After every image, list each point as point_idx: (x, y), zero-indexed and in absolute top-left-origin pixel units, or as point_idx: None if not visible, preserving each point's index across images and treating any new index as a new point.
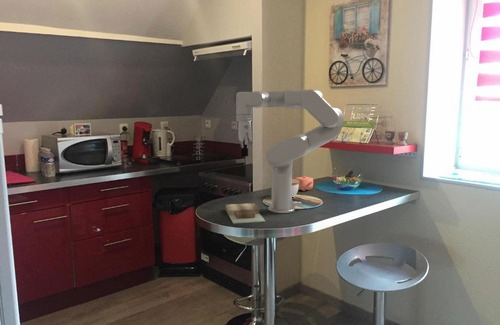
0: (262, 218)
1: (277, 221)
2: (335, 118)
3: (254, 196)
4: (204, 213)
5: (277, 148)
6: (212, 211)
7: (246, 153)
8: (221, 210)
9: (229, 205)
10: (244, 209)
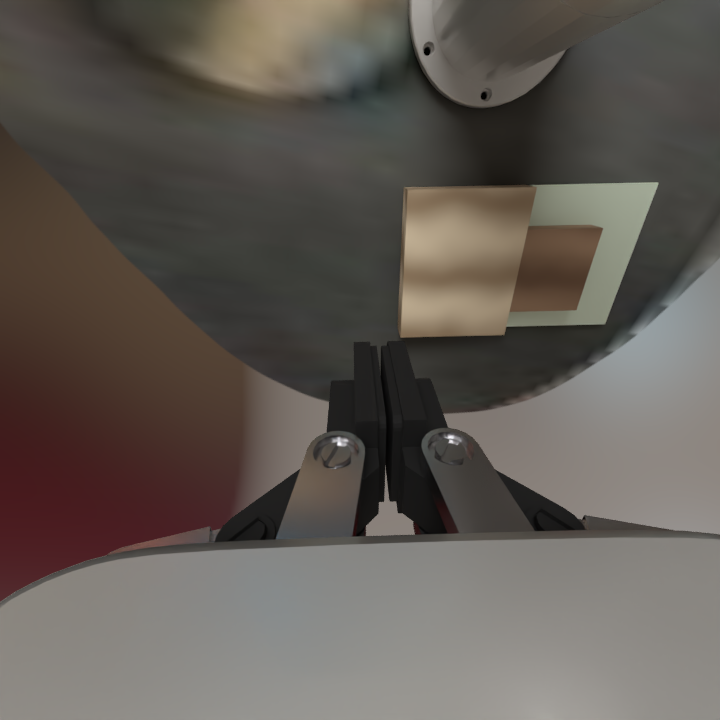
0: (620, 189)
1: (688, 111)
2: None
3: (112, 122)
4: None
5: None
6: None
7: (432, 385)
8: None
9: (419, 323)
10: (513, 266)
